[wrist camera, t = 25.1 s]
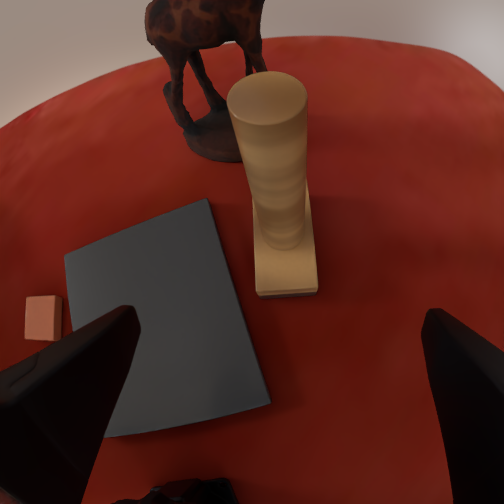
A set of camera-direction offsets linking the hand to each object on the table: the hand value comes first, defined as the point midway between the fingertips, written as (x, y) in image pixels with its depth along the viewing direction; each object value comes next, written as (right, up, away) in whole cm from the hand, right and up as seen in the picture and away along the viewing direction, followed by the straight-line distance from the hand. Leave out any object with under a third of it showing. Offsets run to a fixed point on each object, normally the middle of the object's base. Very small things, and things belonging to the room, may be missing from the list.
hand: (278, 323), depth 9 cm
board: (-8, -3, +14) cm, 17 cm away
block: (-19, -4, +16) cm, 25 cm away
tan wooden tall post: (+2, +3, +15) cm, 15 cm away
